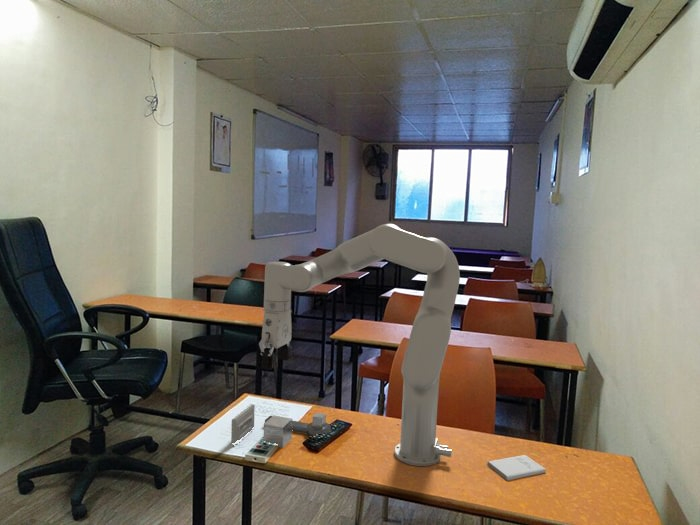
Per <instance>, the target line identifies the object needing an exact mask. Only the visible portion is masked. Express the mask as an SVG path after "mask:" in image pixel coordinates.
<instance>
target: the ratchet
mask: <svg viewBox="0 0 700 525" xmlns="http://www.w3.org/2000/svg"><path fill="white" fill-rule="evenodd" d="M272 416H273V415H269V416H268V417H267V418H265V419H264V423H265V422H266V421H267V420H269V419H270V418H271V417H272ZM326 416H327V415H326V413H322V412H316V413H315V414H313V416H312V422H309V423H307V422H302V421H297V420H292V430H293V431H292V432H294V431H296V432H295V433H299V432H301V433H300V434H304V433H305V434H306V435H307V436H308V437H309V436H313V435H315V434H324V433H327V432H329V431H330V430H331V429H332V428H331V426H332V425H330V423H328V422H327V421H326V420H327V419H326Z"/></svg>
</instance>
